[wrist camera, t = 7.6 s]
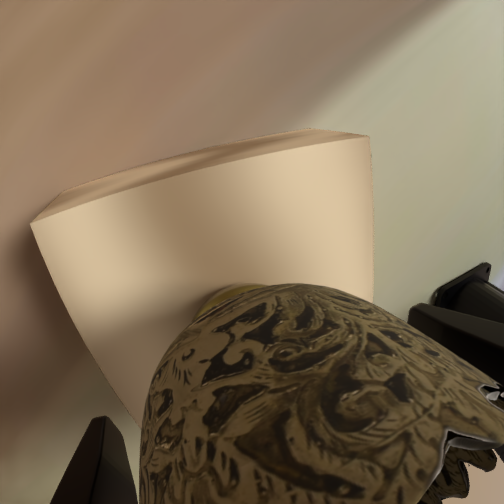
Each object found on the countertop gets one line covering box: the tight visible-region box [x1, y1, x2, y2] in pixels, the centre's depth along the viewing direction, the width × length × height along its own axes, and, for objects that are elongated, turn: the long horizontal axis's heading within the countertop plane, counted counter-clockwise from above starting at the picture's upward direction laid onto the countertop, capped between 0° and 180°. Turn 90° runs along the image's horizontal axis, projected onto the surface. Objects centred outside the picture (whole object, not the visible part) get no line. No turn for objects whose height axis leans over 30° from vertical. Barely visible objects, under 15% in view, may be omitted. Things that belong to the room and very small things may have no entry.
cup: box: [139, 283, 504, 504], centre depth 7 cm, size 8×7×8 cm
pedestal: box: [30, 128, 374, 430], centre depth 12 cm, size 10×10×4 cm
